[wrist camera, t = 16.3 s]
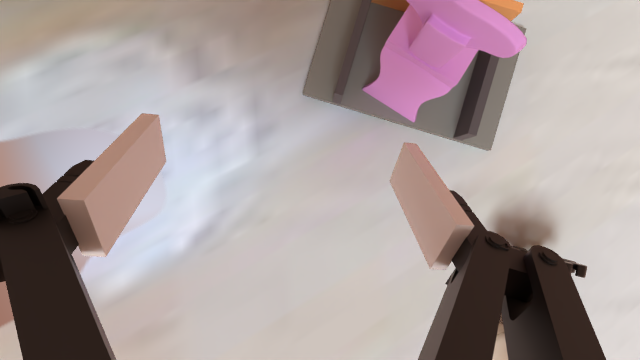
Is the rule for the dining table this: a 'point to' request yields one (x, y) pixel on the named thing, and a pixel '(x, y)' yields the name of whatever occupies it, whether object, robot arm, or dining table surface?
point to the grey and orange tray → (364, 67)
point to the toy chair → (438, 50)
